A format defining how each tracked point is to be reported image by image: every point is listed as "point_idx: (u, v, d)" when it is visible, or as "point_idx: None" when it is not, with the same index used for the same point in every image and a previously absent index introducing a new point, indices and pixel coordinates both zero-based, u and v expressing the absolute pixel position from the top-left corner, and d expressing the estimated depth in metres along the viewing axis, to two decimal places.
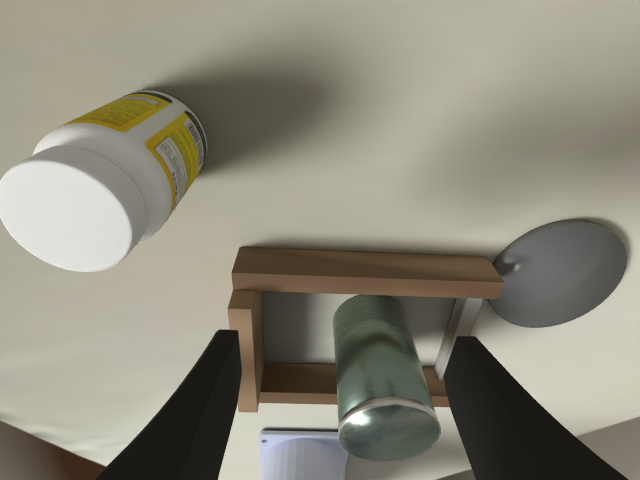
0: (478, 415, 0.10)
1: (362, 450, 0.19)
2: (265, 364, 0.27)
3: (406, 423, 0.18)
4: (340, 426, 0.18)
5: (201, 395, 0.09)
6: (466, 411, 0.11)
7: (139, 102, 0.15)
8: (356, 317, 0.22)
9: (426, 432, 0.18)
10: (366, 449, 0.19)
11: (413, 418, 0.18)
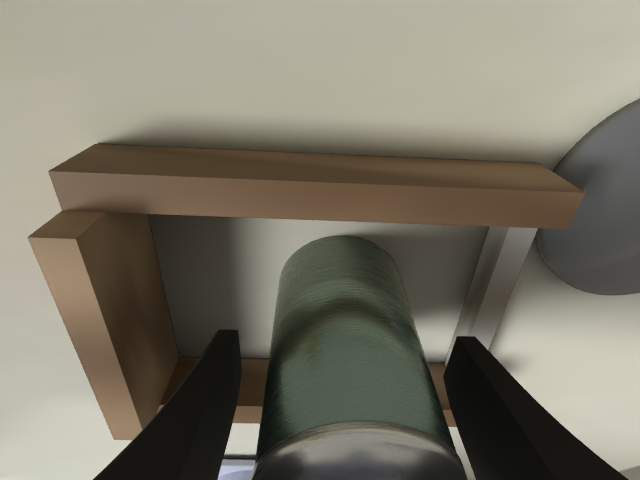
0: (478, 415, 0.10)
1: None
2: (179, 360, 0.17)
3: (394, 479, 0.08)
4: None
5: (201, 395, 0.09)
6: (466, 411, 0.11)
7: None
8: (309, 271, 0.13)
9: None
10: None
11: (410, 469, 0.08)
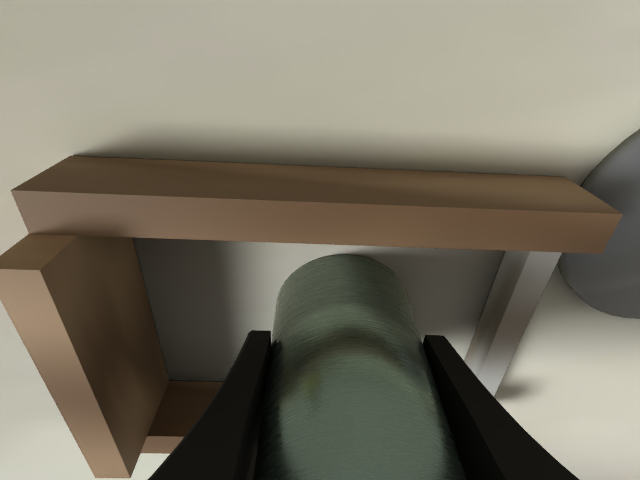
0: None
1: None
2: (169, 384, 0.16)
3: None
4: None
5: (243, 396, 0.09)
6: None
7: None
8: (309, 297, 0.11)
9: None
10: None
11: None
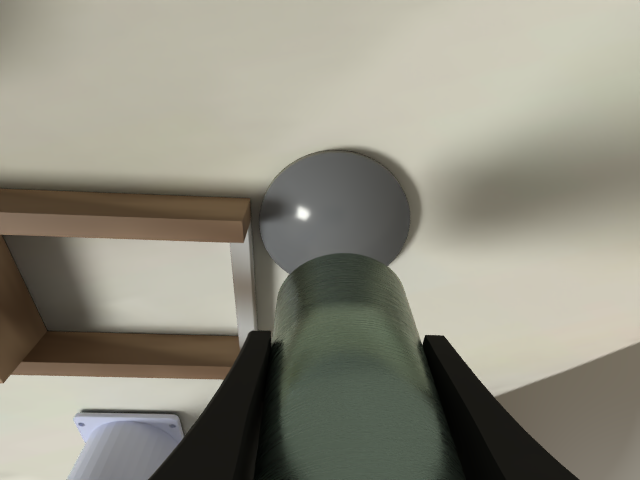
0: None
1: None
2: (46, 333, 0.24)
3: None
4: None
5: (243, 396, 0.09)
6: None
7: None
8: (313, 292, 0.11)
9: None
10: None
11: None
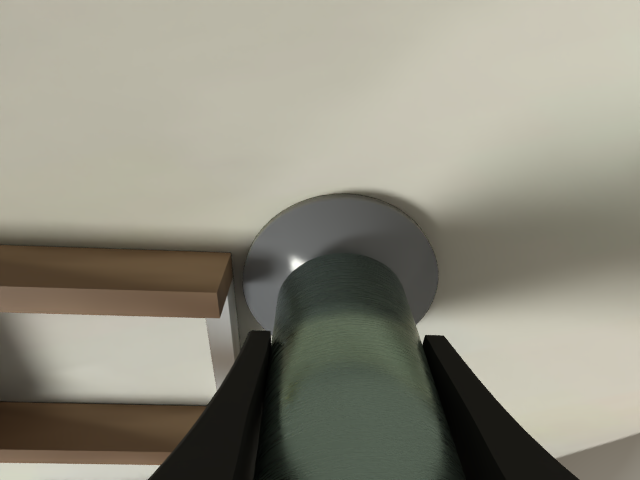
0: None
1: None
2: None
3: None
4: None
5: (243, 396, 0.09)
6: None
7: None
8: (313, 292, 0.11)
9: None
10: None
11: None
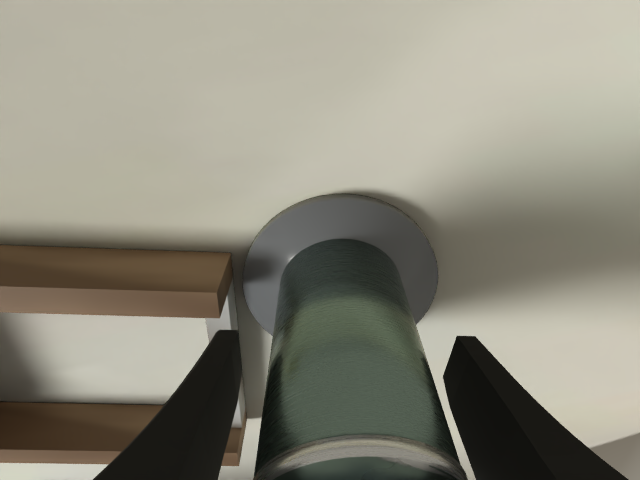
0: (478, 415, 0.10)
1: None
2: None
3: None
4: None
5: (201, 395, 0.09)
6: (466, 411, 0.11)
7: None
8: (314, 273, 0.12)
9: None
10: None
11: None
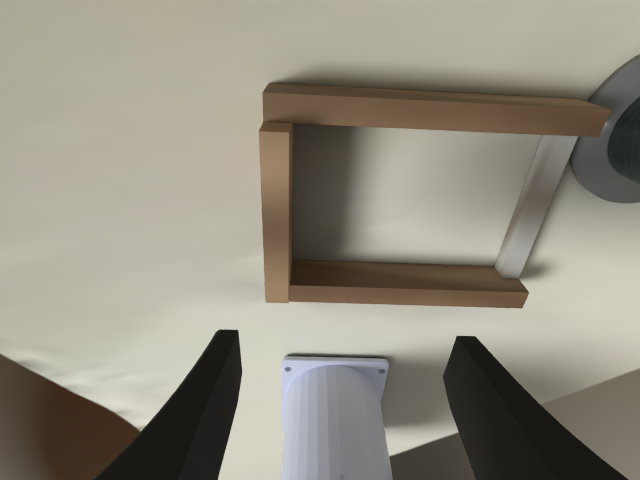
0: (478, 415, 0.10)
1: None
2: (293, 261, 0.23)
3: None
4: None
5: (201, 395, 0.09)
6: (466, 411, 0.11)
7: None
8: None
9: None
10: None
11: None
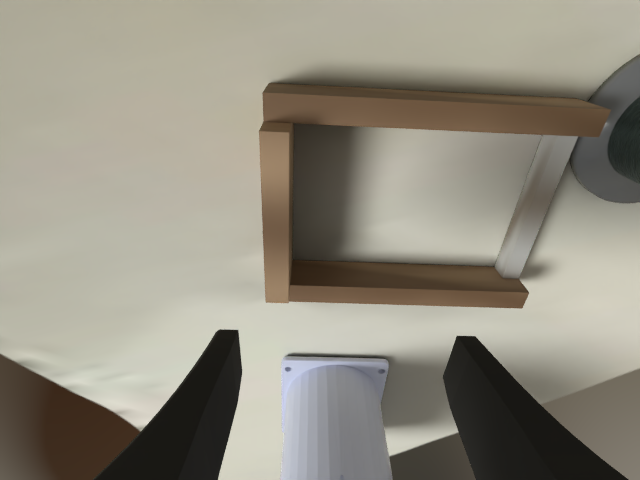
0: (478, 415, 0.10)
1: None
2: (293, 261, 0.23)
3: None
4: None
5: (201, 395, 0.09)
6: (466, 411, 0.11)
7: None
8: None
9: None
10: None
11: None
